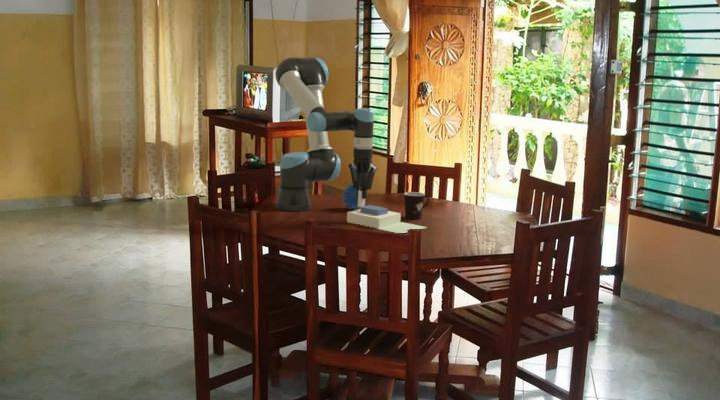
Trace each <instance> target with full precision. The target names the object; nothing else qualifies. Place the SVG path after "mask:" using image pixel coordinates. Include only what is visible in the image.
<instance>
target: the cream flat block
mask: <svg viewBox="0 0 720 400" xmlns="http://www.w3.org/2000/svg"><path fill="white" fill-rule="evenodd" d="M360 210H361V208H359V209H355V210H351V211H350V210H349V211H347V212H346V222H347V223H349V224H353V225H354V224H355V225H359V224H360V226H363V225H364V226H363V227H368V226H369V228H372V227H373V228H372V229H377V230H378V228H381V227H385V226H389V225H393V224H396V223H400V222H401V218H402V217H401V215H402V214H401V212H396V211H391V210H388V213H387V214H383V215H379V216H377V215H373V214H368V213H363V212H360Z"/></svg>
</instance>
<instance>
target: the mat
mask: <svg viewBox="0 0 720 400" xmlns="http://www.w3.org/2000/svg"><path fill="white" fill-rule="evenodd" d="M427 227H428V226H423V225H418V224H413V223H408V222H403V221H400V223H396V224H393V225H389V226H385V227H381V228H378V229H377V230H379V231H383V232H384V231H385V232H387V231H388V233H392V232H393V234H397V233H407V232H408V231H407V230H409V229H421V230H425V229H427ZM407 234H408V233H407Z"/></svg>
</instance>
